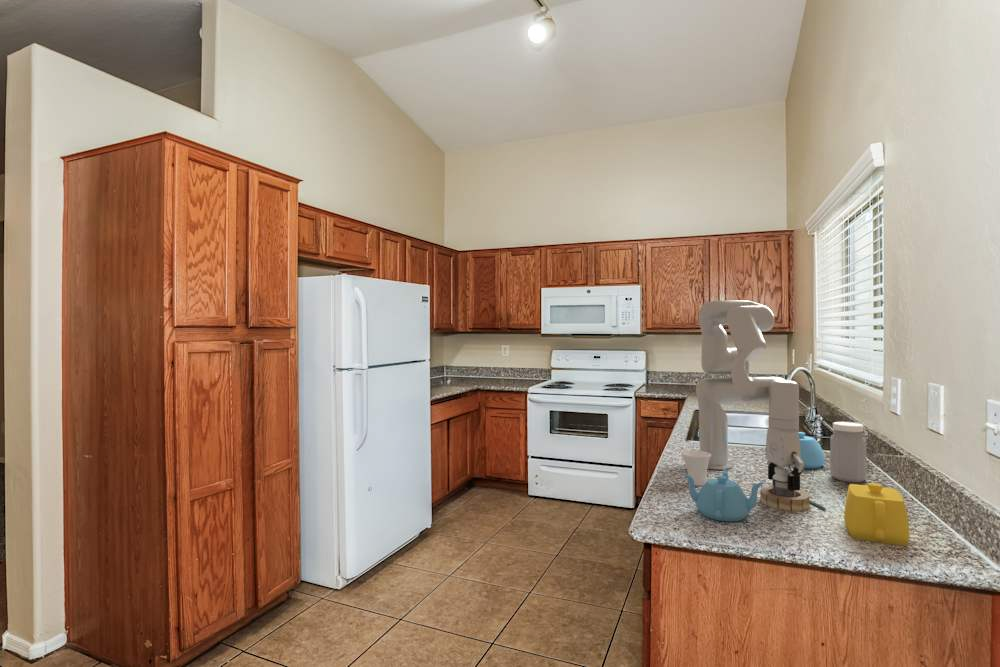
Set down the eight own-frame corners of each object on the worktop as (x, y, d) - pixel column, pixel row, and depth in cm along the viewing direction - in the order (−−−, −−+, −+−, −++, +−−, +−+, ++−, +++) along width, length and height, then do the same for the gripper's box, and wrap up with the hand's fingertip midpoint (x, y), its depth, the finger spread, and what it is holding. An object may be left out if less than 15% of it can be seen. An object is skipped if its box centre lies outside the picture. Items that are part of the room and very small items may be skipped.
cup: (696, 478, 173) (695, 448, 172) (717, 485, 164) (717, 454, 164) (675, 481, 169) (674, 450, 169) (696, 489, 160) (696, 457, 160)
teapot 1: (715, 528, 130) (715, 487, 130) (680, 507, 144) (680, 471, 144) (765, 522, 133) (765, 482, 133) (725, 503, 148) (725, 467, 148)
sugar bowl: (768, 462, 192) (768, 430, 192) (795, 457, 199) (795, 427, 199) (807, 471, 179) (806, 438, 179) (834, 466, 185) (834, 434, 185)
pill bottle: (775, 498, 151) (774, 464, 151) (797, 502, 148) (797, 467, 148) (770, 503, 147) (770, 468, 147) (793, 508, 143) (793, 472, 143)
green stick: (795, 495, 154) (795, 493, 154) (798, 495, 154) (798, 493, 154) (823, 510, 141) (823, 508, 141) (826, 510, 141) (826, 507, 141)
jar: (842, 473, 176) (841, 420, 176) (873, 480, 168) (873, 424, 167) (823, 477, 172) (823, 422, 172) (854, 484, 163) (854, 427, 163)
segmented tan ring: (752, 496, 153) (752, 486, 153) (792, 496, 153) (792, 485, 153) (775, 511, 141) (775, 500, 141) (818, 510, 141) (818, 499, 141)
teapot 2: (840, 514, 138) (840, 470, 138) (898, 522, 132) (898, 476, 132) (848, 541, 120) (848, 491, 120) (916, 552, 115) (915, 498, 114)
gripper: (754, 418, 155) (754, 475, 156) (788, 430, 138) (788, 494, 139) (779, 418, 156) (779, 475, 156) (816, 430, 138) (815, 494, 139)
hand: (783, 484), depth 147 cm, fingers open, 9 cm apart
